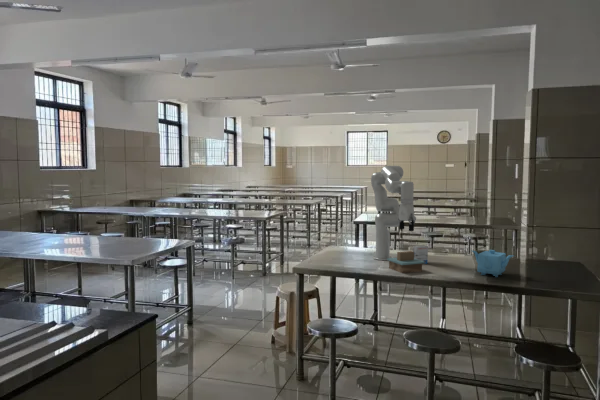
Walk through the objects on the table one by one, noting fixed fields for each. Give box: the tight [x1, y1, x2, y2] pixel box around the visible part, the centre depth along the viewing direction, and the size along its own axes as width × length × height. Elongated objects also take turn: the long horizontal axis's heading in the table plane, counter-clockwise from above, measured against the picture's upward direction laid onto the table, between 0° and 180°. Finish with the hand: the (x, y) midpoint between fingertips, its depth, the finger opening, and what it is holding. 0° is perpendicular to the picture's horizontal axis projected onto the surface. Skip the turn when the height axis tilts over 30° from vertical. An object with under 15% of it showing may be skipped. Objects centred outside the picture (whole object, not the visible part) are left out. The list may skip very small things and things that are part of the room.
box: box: [388, 261, 423, 274], centre depth 281 cm, size 14×14×6 cm
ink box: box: [412, 244, 429, 265], centre depth 304 cm, size 9×5×12 cm, turn 105°
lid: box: [386, 250, 425, 265], centre depth 280 cm, size 16×16×6 cm
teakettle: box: [470, 249, 514, 278], centre depth 274 cm, size 19×19×15 cm
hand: (406, 230), depth 280 cm, fingers open, 9 cm apart
